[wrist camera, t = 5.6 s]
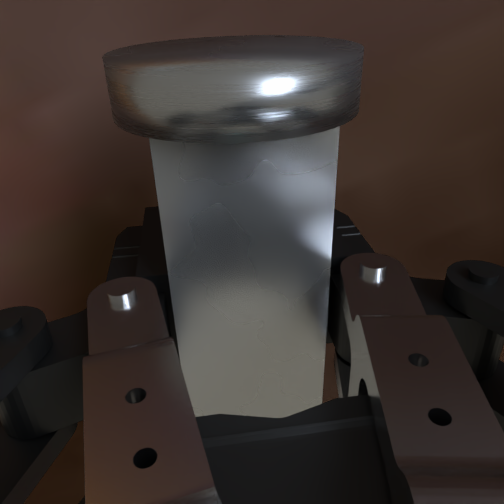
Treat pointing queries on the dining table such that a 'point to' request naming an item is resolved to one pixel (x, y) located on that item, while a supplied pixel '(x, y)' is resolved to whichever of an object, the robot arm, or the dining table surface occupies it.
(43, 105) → the dining table surface
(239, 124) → the shaft
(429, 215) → the dining table surface
